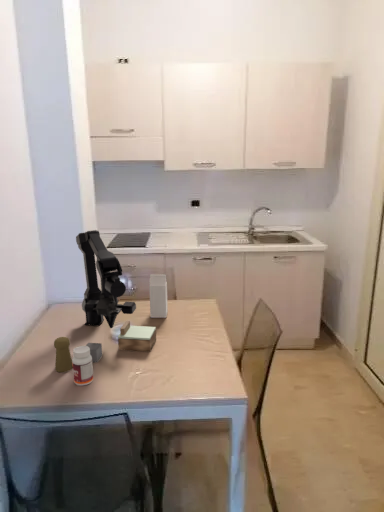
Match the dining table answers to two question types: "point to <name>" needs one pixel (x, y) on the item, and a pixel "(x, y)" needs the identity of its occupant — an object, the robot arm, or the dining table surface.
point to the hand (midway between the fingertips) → (111, 327)
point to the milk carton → (158, 296)
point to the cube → (95, 351)
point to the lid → (136, 332)
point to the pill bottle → (82, 365)
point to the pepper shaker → (63, 355)
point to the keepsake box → (137, 344)
